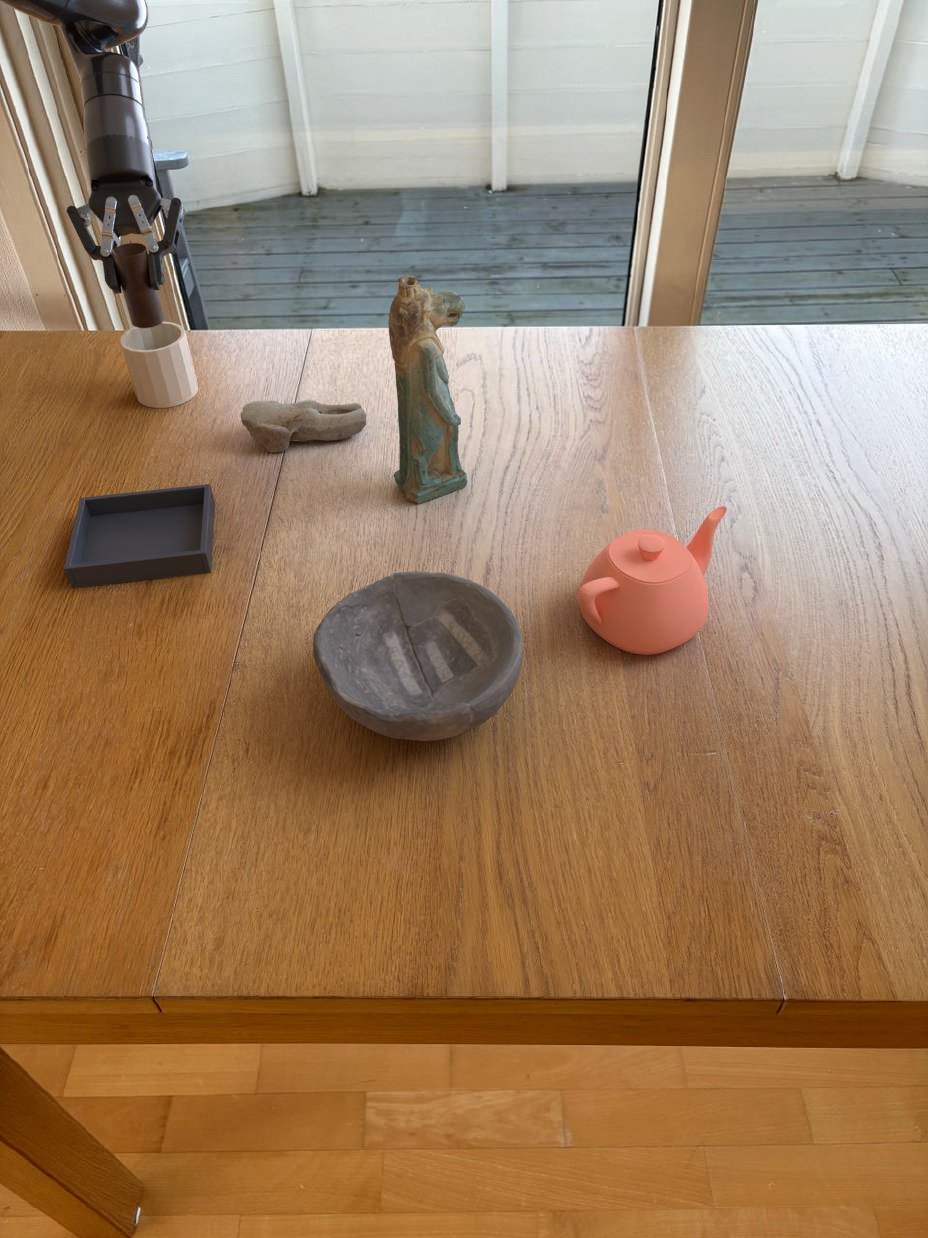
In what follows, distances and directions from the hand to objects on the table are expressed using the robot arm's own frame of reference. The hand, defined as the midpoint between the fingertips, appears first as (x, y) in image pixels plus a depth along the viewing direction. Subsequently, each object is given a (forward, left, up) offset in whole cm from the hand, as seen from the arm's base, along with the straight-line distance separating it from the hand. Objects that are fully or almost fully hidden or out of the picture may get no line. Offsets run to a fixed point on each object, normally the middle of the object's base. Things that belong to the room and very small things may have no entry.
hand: (136, 288), depth 114 cm
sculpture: (+18, -12, -15) cm, 27 cm away
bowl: (+27, -57, -15) cm, 65 cm away
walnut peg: (0, +2, -5) cm, 5 cm away
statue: (+32, -25, -15) cm, 43 cm away
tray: (0, -30, -15) cm, 34 cm away
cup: (0, +2, -15) cm, 15 cm away
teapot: (+50, -50, -15) cm, 72 cm away
